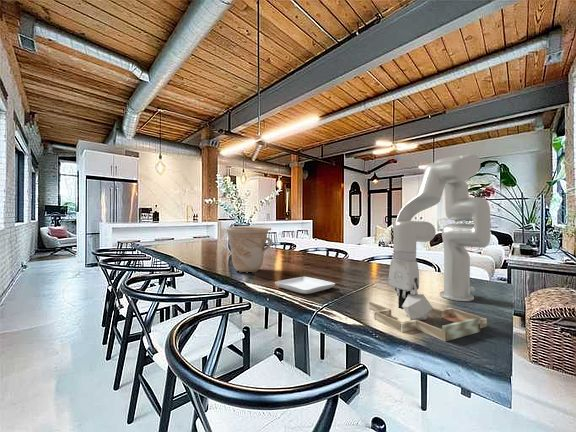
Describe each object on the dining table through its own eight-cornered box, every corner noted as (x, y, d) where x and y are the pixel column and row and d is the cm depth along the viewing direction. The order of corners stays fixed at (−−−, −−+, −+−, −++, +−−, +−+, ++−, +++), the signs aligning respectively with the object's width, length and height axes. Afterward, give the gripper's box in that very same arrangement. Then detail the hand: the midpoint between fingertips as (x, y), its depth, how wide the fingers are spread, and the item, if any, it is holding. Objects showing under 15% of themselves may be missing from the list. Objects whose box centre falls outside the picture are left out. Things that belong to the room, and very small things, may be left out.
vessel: (285, 268, 177) (280, 220, 174) (245, 281, 158) (239, 228, 156) (258, 262, 199) (253, 220, 196) (221, 273, 180) (215, 227, 178)
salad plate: (304, 281, 150) (304, 275, 150) (336, 289, 135) (336, 282, 135) (273, 288, 136) (273, 281, 136) (305, 298, 120) (305, 290, 120)
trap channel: (410, 301, 116) (410, 291, 116) (491, 328, 88) (492, 315, 88) (355, 311, 103) (356, 299, 103) (430, 345, 76) (430, 330, 76)
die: (428, 328, 91) (441, 302, 92) (403, 313, 92) (416, 287, 94) (417, 325, 98) (429, 301, 100) (394, 311, 100) (407, 287, 102)
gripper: (381, 254, 106) (380, 303, 106) (414, 259, 92) (413, 316, 92) (396, 253, 109) (395, 301, 109) (430, 258, 96) (429, 313, 95)
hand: (403, 308), depth 101 cm, fingers closed
